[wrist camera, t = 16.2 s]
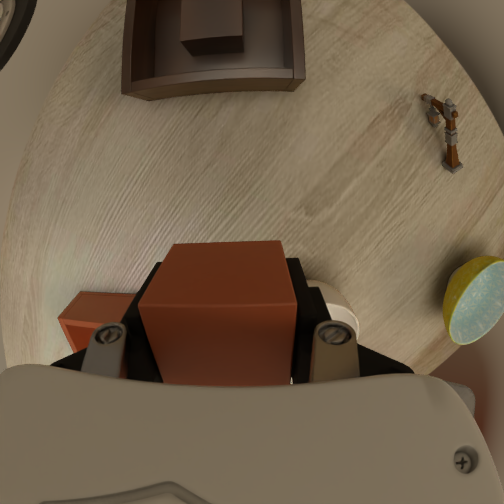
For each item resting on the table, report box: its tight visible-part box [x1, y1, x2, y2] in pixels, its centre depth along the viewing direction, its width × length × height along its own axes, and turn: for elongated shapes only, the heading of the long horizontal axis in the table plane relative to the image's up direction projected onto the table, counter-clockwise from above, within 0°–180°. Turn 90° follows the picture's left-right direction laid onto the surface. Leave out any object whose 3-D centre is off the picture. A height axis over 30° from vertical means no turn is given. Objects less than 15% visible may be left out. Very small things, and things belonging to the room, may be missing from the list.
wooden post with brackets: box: [421, 94, 463, 174], centre depth 20 cm, size 2×8×4 cm, turn 33°
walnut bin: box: [121, 0, 306, 101], centre depth 15 cm, size 13×12×6 cm
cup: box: [306, 280, 359, 339], centre depth 25 cm, size 8×10×7 cm
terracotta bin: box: [58, 291, 164, 383], centre depth 28 cm, size 13×12×6 cm
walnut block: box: [179, 0, 244, 56], centre depth 15 cm, size 4×4×4 cm
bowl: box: [443, 256, 504, 345], centre depth 25 cm, size 11×12×6 cm
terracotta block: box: [138, 240, 297, 386], centre depth 10 cm, size 4×4×4 cm
